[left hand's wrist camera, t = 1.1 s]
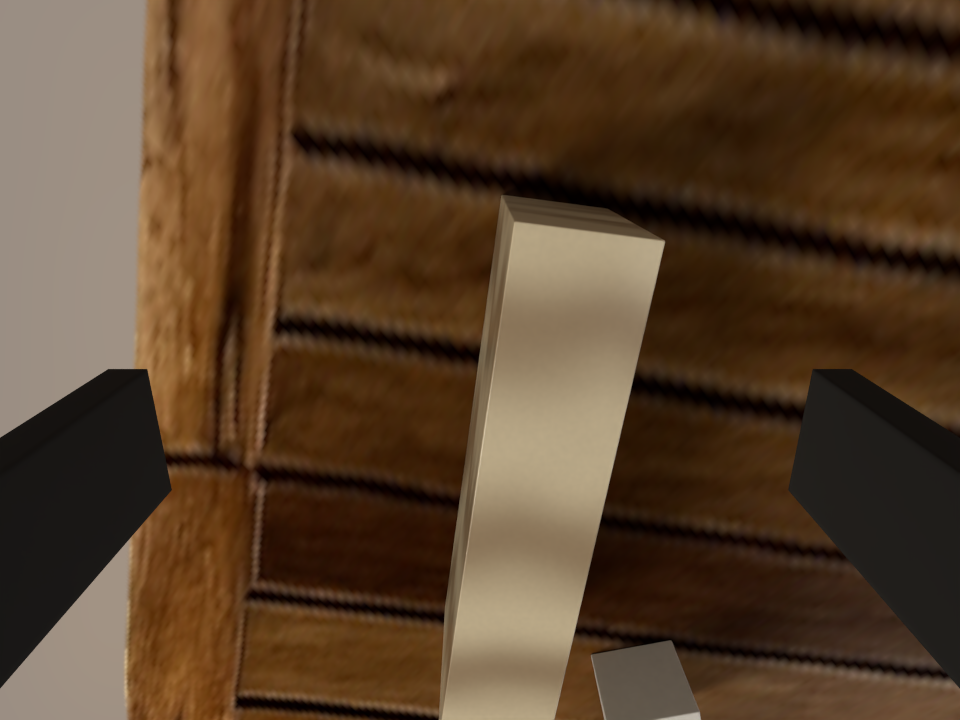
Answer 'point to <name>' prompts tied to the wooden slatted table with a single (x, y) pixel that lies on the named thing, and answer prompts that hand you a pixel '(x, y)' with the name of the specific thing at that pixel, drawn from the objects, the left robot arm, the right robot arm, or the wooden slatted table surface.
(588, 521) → the ash bar
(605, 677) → the white cube
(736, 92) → the wooden slatted table surface
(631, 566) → the wooden slatted table surface
